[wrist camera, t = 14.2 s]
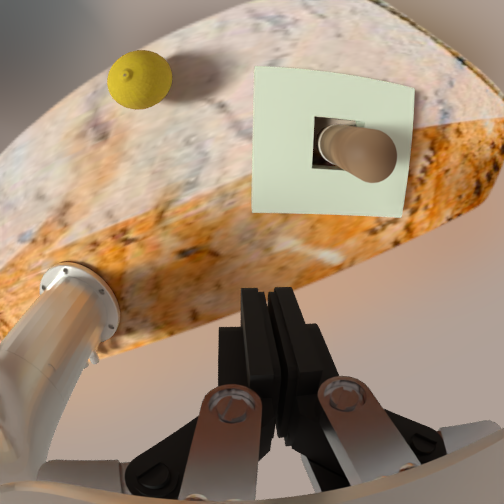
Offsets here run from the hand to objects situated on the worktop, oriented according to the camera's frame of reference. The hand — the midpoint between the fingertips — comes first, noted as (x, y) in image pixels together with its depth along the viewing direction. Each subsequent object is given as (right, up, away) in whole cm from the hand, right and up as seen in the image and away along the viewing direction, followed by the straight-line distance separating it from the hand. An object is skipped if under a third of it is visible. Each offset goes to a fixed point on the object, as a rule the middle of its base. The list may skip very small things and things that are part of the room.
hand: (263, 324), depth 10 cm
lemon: (-10, +19, +16) cm, 27 cm away
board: (+8, +14, +19) cm, 24 cm away
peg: (+8, +14, +19) cm, 24 cm away
